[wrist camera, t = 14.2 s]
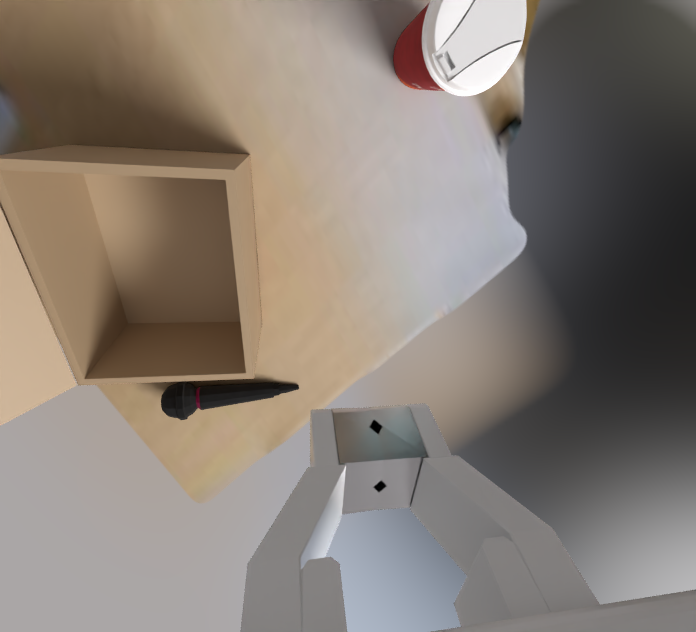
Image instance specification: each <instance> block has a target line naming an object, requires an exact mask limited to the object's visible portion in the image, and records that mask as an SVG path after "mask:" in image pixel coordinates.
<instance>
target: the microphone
mask: <svg viewBox="0 0 696 632" xmlns="http://www.w3.org/2000/svg"><path fill="white" fill-rule="evenodd" d="M297 389H299V386H298V385H279V384H273V383H257V384H238V385H218V386H200V387H199V388H198V389H196V388H195V387H194V386H193V385H192V384H189V383H187V382H186V381H179V383H177V384H174V385H171V386H169V387H168V388H167V389H166V390H165V392H164V393H163V395H162V398H161V407H162V410H163V411H164V412H165V413H166V415H168V416H170V417H174V418H179V419H180V420H185V419H187V418H188V416H190V415H191V414H193V413H194V412H195V411H196V409H197V408H199V409H201V410H204V409H209V408H215V407H221V406H227V405H232V404H238V403H244V402H250V401H255V400H261V399H267V398H273V397H274V396H276V395H279V394H281V393H286V392H290V391H294V390H297Z"/></svg>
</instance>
